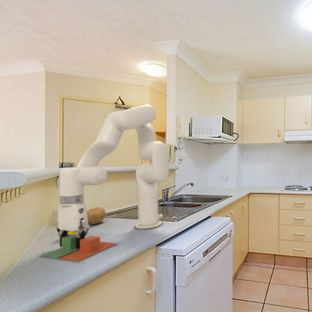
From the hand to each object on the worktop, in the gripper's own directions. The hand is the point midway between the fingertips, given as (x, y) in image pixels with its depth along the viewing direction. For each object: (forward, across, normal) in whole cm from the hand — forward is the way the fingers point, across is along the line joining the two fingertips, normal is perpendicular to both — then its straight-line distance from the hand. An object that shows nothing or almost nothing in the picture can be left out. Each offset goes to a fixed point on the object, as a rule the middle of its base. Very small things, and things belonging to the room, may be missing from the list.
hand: (72, 246), depth 88 cm
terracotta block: (+1, -9, 0) cm, 9 cm away
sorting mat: (+1, -4, 0) cm, 5 cm away
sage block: (+1, 0, 0) cm, 1 cm away
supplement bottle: (+1, +13, -12) cm, 18 cm away
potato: (+1, +23, -30) cm, 38 cm away
